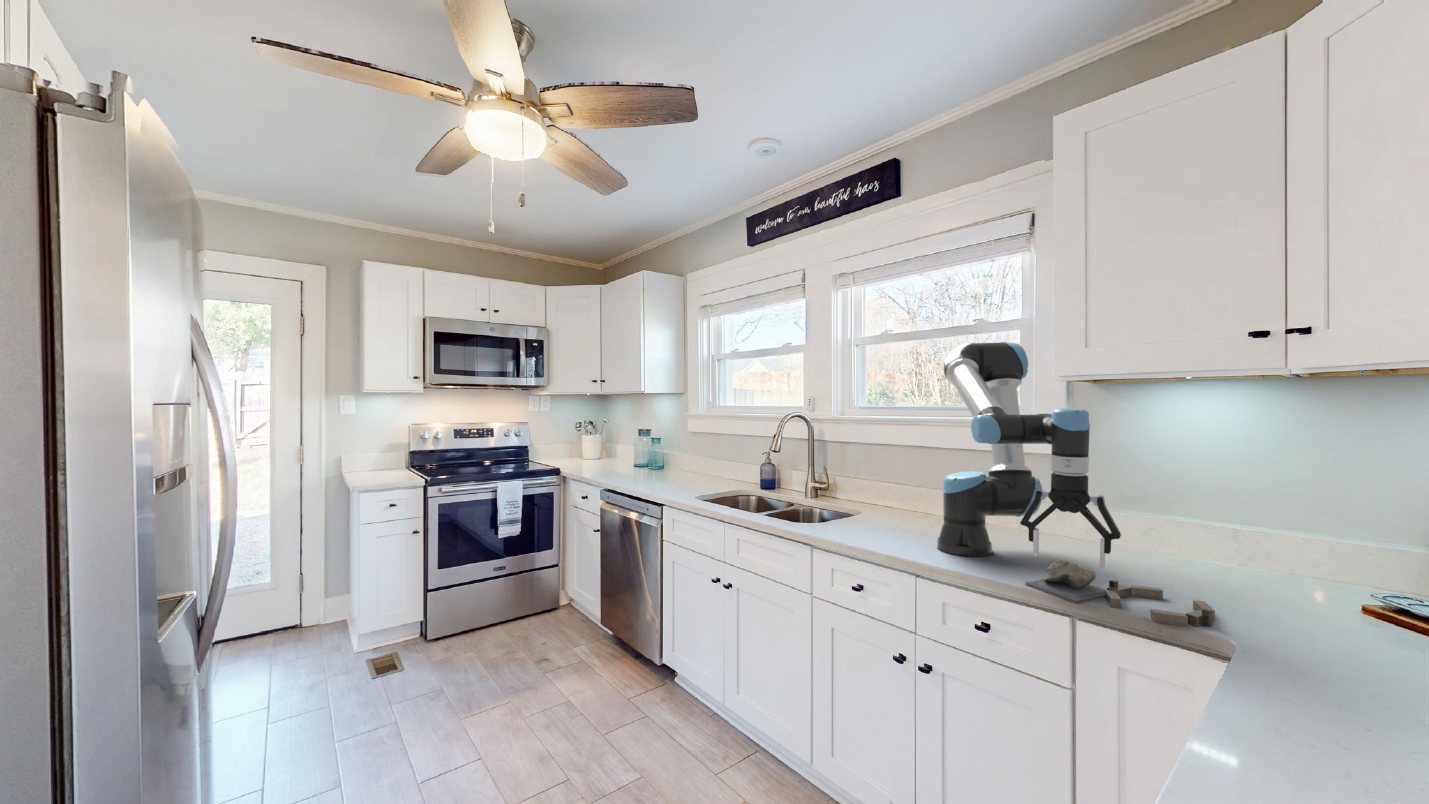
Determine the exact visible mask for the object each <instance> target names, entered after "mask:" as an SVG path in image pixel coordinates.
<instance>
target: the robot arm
mask: <svg viewBox="0 0 1429 804" xmlns="http://www.w3.org/2000/svg"><path fill="white" fill-rule="evenodd" d="M1028 368H1029V360H1028V356H1027V353H1026V350H1025V349H1024V347H1023V346H1022V345H1021V344H1019V343H1016V342H1008V341H1007V342H1006V341H1001V342H968V343H963V344H960V345H958V346H957V347H955V348H953V350H951V351H950V352H949V353H948V355H947V356H946V357H945V359H944V363H943V373H944V376H945V378H946V380H947V381H948V383H950V385H952V386H954V387H955V389H956V390H957V391H958V393H959V396H960V397H961V398H962V401H963V402H964V404H965V406H966V407H967V409H968V411H969V412H970V414H971V416H972V420H971V426H970V431H971V434H972V438H973V440H974V442H976V443H978V444H989V445H991V454H992V455H991V456H992V464H993V465H992V467H991V468H990V469H989V470H988V471H987V472H988V476H987V475H986V474H985V472H983V471H979V470H977V471H976V470H975V471H969V470H968V471H967V470H966V471H959V472H958V471H957V472H954V473H950V474H947V475H946V476H945V477H944V479H943V487H942V492H943V499H942V500H943V504H942V505H943V523H942V526H941V530H940V533H939V536H938V537H937V545H936V547H937V548H938V549H939V550H940V551H942V552H944V553H948V554H952V555H956V556H957V555H958V556H964V557H986V556H989V555H991V554H992V553H993V544H992V542H991V541H990V537H989V534H988V533H989V532H988V529H987V526H986V516H988V517H989V516H992V517H995V516H996V517H1017V518H1019V517H1022V519H1021V520H1020V525H1021V526H1024V527H1026V528H1027V529H1028V541H1029V542H1033V544H1032V545H1033V549H1032V557H1038V556H1039V554H1040V552H1039V550H1040V528H1038V527H1037V526H1038V525H1039V524H1041V522H1043V521H1044V520H1045V519H1047V517H1048V516H1050V514H1052V513H1053V512H1055V510H1058V511H1060V512H1063V513H1064V512H1065V513H1066V512H1067V513H1072V514H1077V513H1080V514H1081V515H1082V516H1083V517H1084V518H1085V519H1086V521H1088V522H1089V523H1090V525H1092V527H1093V528H1094V529H1095V530H1096V532H1098V534H1100V536H1101V538H1100V540H1099V568H1100V569H1105V565H1106V555H1110V554H1111V552H1112V541H1113V540H1120V539H1121V536H1122V533H1121V531H1120V528H1118V526H1117V524H1116V523H1115V520H1114V519H1113V517H1112V515H1111V514H1110V511H1109V509H1108V507H1107V506H1106V502H1105V497H1104V495H1098V496H1091V495H1090V494H1089V476H1088V475H1087V474H1088V473H1089V466H1090V465H1089V464H1090V462H1089V461H1090V456H1089V455H1090V454H1089V453H1090V429H1091V424H1090V413H1089V411H1088V410H1086V409H1083V408H1056V409H1054V410H1053V411H1052V414H1051V413H1038V414H1037V413H1036V414H1020V405H1019V395H1018V388H1019V387H1020V385H1022V382H1023V379H1024V378H1026V377H1027V374H1028V371H1029V370H1028ZM1025 444H1027V445H1028V444H1029V445H1030V444H1032V445H1034V444H1035V445H1038V444H1039V445H1051V461H1050V466H1051V467H1050V470H1051V471H1052V473H1051V474H1050V491H1045V490H1043V486H1042V484H1041V481H1040V479H1039V478H1038V477H1036V476H1033V474H1032V469H1030V468H1029V467H1028V466H1027V465H1026V463H1025V462H1026V460H1025V454H1024V453H1025V452H1024V445H1025ZM1046 498H1049V500H1050V501H1051V502H1052V503H1051V505H1050V506H1049V507H1047V508H1046V509H1045V510H1044V511H1043V512H1042V513H1041V514H1039V515H1038V516H1037V517H1036V518H1035V519H1033V521H1030V519H1031V517H1032V516H1033V515H1035V514H1036V513H1037V512H1038V511H1039V509H1040V507H1041V505H1042V501H1044V500H1045V499H1046ZM1090 502H1092V503H1093V505H1094V506H1095V507H1097V509H1098V511H1099V513H1100V515H1101V516H1102V518H1103V520H1104V521H1105V523H1106V525H1107V527H1108V529H1109V531H1110V532H1109V531H1108V530H1107V528H1106V527H1105V526H1104V525H1103V524H1102V522H1101V521H1099V519H1097V517H1096V516H1095V515H1094V514H1093V513H1092V511H1091V510H1090V509H1089V508H1088V506H1087V505H1088V504H1089V503H1090Z"/></svg>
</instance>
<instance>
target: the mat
mask: <svg viewBox="0 0 1429 804" xmlns="http://www.w3.org/2000/svg"><path fill="white" fill-rule="evenodd" d="M1025 586H1027V587H1031V588H1033V589H1036V590H1038V591H1041V592H1043V593H1047V594H1049V595H1052V596H1055V597H1057V598H1060V599H1062V600H1065V601H1068V602H1071V603H1074V604H1080V603H1084V602H1091V601H1095V600H1096V601H1097V600H1101V599H1105V590H1106V589H1103V588H1101V587H1098V586H1095V585H1092V584H1089V585H1088V586H1085V587H1082V588H1073V587H1072V586H1071V585H1070V584H1068V583H1055V582H1049V581H1045V580H1043V579H1038V580H1033V581H1027V582H1026V581H1025Z"/></svg>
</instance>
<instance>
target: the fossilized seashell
mask: <svg viewBox="0 0 1429 804" xmlns="http://www.w3.org/2000/svg"><path fill="white" fill-rule="evenodd" d="M1042 577H1043V578H1042V580H1045V581H1049V582H1055V583H1068V584H1070V585H1071V586H1072V587H1073V588H1082V587H1085V586H1088V585H1091V584H1092V582H1093V581H1095V579H1096V577H1097V575H1096V573H1095V572H1094V571H1092V570H1091V569H1087V568H1085V567H1082V566H1079V565H1078V564H1075V563H1070V562H1069V561H1068V560H1062V559H1061V560H1055V561H1053V562H1052V563H1049V566H1048V567H1047V568H1046V571H1045V574H1044V575H1043V576H1042Z"/></svg>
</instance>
